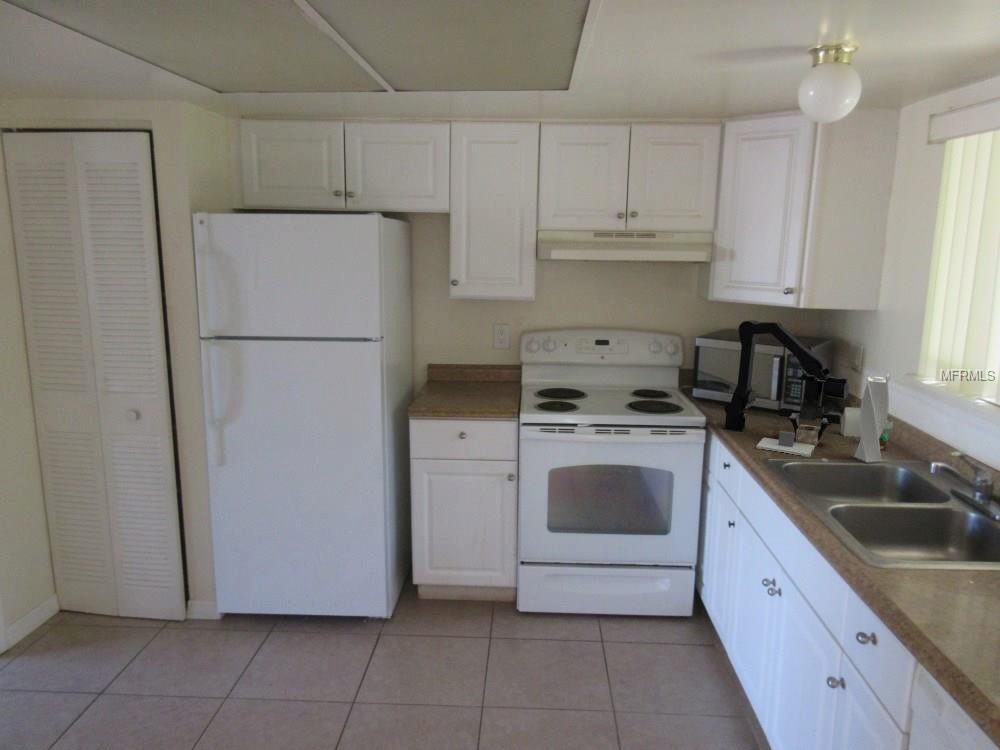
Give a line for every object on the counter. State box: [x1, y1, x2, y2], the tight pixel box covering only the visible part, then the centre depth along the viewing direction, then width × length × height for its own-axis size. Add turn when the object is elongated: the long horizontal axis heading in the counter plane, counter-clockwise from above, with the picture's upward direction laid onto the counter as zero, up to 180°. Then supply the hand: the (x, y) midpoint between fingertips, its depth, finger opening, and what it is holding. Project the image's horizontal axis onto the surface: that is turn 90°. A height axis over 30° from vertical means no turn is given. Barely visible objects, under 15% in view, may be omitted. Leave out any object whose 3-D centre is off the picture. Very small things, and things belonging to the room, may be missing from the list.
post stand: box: [756, 430, 816, 458], centre depth 217 cm, size 16×12×6 cm
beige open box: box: [794, 424, 821, 448], centre depth 225 cm, size 6×8×5 cm
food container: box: [879, 417, 894, 452], centre depth 220 cm, size 12×6×10 cm, turn 168°
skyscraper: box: [850, 373, 890, 464], centre depth 204 cm, size 8×8×28 cm
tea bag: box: [839, 406, 861, 438], centre depth 235 cm, size 4×7×10 cm, turn 80°
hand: (807, 439), depth 225 cm, fingers closed on beige open box, 6 cm apart
